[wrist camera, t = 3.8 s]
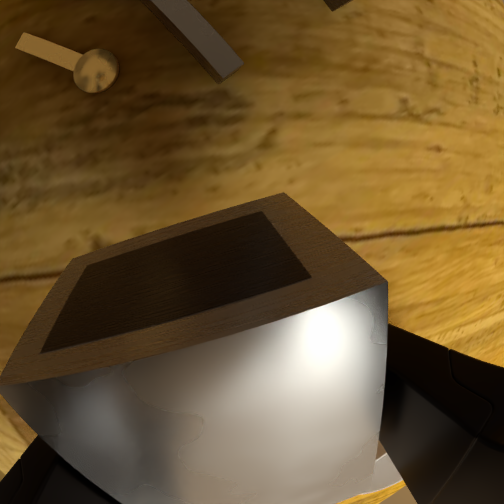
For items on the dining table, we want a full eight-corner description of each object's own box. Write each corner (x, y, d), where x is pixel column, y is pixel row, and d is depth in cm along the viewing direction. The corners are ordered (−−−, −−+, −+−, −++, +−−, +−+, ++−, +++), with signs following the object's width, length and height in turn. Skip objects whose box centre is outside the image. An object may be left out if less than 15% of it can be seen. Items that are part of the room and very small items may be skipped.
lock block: (319, 385, 11) (369, 489, 7) (172, 426, 10) (179, 537, 6) (283, 191, 8) (388, 280, 4) (72, 258, 7) (-6, 386, 3)
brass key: (128, 61, 14) (125, 58, 13) (105, 100, 14) (101, 99, 14) (35, 24, 11) (30, 21, 11) (15, 60, 12) (9, 59, 11)
